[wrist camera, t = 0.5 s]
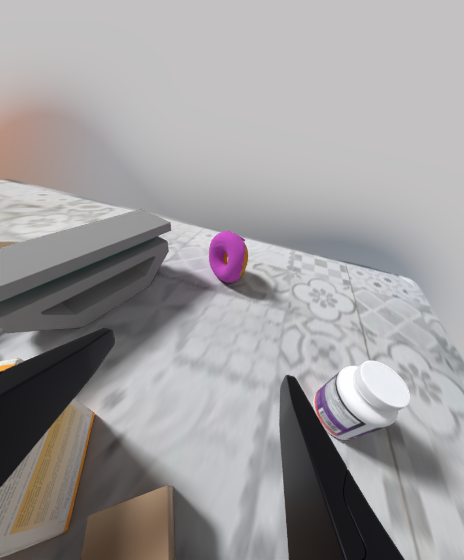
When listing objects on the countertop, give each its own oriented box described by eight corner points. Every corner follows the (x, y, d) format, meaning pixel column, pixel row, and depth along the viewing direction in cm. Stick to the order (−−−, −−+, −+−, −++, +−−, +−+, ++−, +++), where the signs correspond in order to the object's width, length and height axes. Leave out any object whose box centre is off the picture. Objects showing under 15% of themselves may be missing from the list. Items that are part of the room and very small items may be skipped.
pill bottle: (349, 394, 25) (401, 361, 18) (363, 447, 21) (436, 427, 14) (309, 383, 25) (346, 347, 19) (314, 433, 21) (364, 408, 15)
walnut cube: (176, 586, 13) (169, 616, 10) (96, 628, 12) (58, 679, 9) (173, 486, 17) (167, 485, 14) (111, 510, 15) (88, 515, 12)
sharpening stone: (150, 256, 42) (141, 209, 35) (175, 270, 40) (170, 222, 33) (-1, 330, 26) (-77, 268, 19) (24, 363, 23) (-54, 306, 16)
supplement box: (43, 424, 19) (-85, 369, 10) (97, 412, 20) (23, 353, 12) (-13, 566, 13) (-413, 706, 5) (68, 536, 14) (-124, 600, 6)
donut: (203, 287, 37) (204, 243, 30) (209, 260, 44) (211, 220, 37) (242, 291, 37) (252, 249, 31) (242, 264, 44) (250, 225, 38)
